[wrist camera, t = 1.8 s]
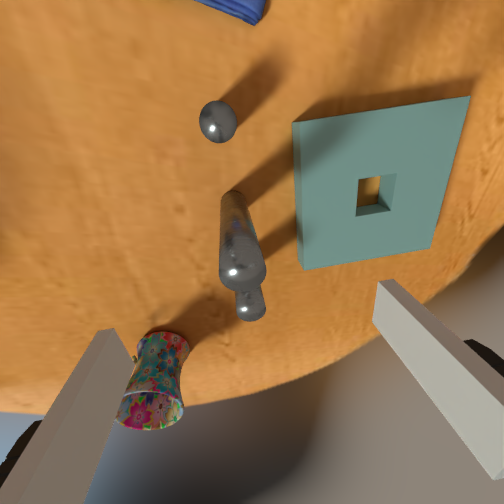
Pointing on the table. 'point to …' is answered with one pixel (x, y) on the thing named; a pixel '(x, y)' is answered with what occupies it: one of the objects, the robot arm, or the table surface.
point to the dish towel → (239, 8)
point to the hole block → (371, 165)
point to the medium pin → (250, 304)
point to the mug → (155, 383)
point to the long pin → (239, 246)
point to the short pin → (218, 121)
